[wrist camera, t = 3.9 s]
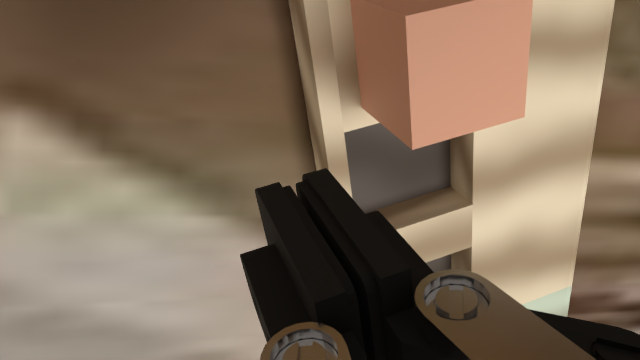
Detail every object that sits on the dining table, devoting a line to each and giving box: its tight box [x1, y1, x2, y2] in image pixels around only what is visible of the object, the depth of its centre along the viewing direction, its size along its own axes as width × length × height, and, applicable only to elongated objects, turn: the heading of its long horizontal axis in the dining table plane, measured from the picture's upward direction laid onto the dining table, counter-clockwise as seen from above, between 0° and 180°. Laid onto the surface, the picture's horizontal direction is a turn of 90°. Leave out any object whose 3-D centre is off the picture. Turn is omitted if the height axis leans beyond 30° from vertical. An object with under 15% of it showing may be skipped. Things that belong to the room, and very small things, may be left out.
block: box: [350, 0, 533, 150], centre depth 20 cm, size 5×5×5 cm
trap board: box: [288, 0, 615, 317], centre depth 30 cm, size 31×16×4 cm, turn 8°
